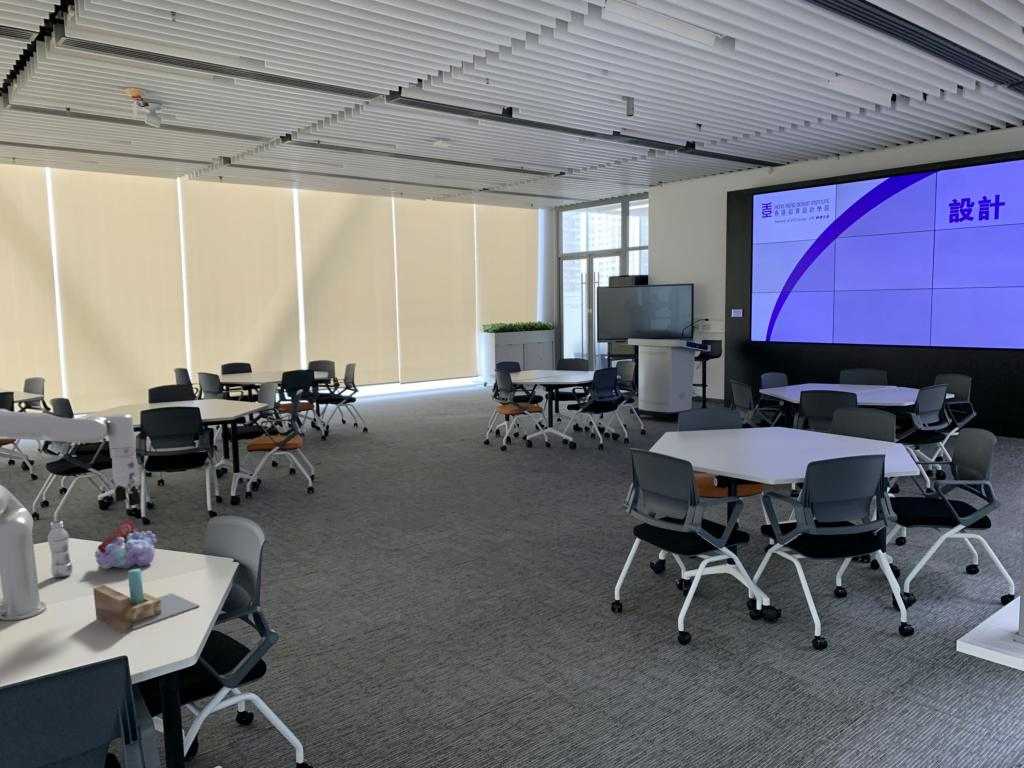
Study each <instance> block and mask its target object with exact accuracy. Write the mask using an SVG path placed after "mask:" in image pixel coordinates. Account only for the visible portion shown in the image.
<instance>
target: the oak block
mask: <svg viewBox="0 0 1024 768" xmlns="http://www.w3.org/2000/svg"><path fill="white" fill-rule="evenodd" d="M143 595H144V603H141V604H138V605H135V606H131V612H132V622H135V621H138V620H141V619H144V618H147V617H150V616H153V615H156V614H159V613H161V612H162V610H161V600H160V599H157V598H158V597H155V596H153V595H151V594H148V593H146V592H143ZM130 601H131V598H130Z"/></svg>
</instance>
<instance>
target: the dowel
mask: <svg viewBox="0 0 1024 768" xmlns="http://www.w3.org/2000/svg"><path fill="white" fill-rule="evenodd" d="M127 575H128V576H127V579H128V585H129V586H128V587H129V597H130V598H131V606H135V605H138V604H141V603H144V595H143V594H144V586H143V577H142V570H141V568H134V569H130V570H128V571H127Z"/></svg>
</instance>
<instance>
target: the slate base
mask: <svg viewBox="0 0 1024 768" xmlns="http://www.w3.org/2000/svg"><path fill="white" fill-rule="evenodd" d="M156 598H157V599H160V600H161V610H162V612H161V613H159V614H156V615H153V616H150V617H147V618H144V619H141V620H138V621H135V622H133V629H131V630H128V631H125V632H121V631H119V630H118V629H116V628H114V627H112V626H110V625H108V624H107V623H105V622H103V621H101V620H99V619H98V618H96V617H95V618H96V620H97V621H99V622H101V624H102V623H103V624H104V625H106V626H108V627H109V628H111V629H113V630H115V631H117V632H118V631H119V632H118V633H120V632H121V633H120V634H122V635H124V634H126V633H129V632H133V631H135V630H139V629H141V628H144V627H147V626H151V625H152V624H155V623H157V622H161V621H164V620H167V619H169V618H172V617H175V616H178V615H180V614H183V613H186V612H190V611H191V610H194V609H197V608H200V604H197V603H195V602H193V601H191V600H189V599H186V598H183V597H182V596H179V595H177V594H174V593H168V594H165V595H163V596H159V597H156ZM132 630H133V631H132Z"/></svg>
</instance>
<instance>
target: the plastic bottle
mask: <svg viewBox="0 0 1024 768" xmlns="http://www.w3.org/2000/svg"><path fill="white" fill-rule="evenodd" d="M50 529H51V530H50V531H49V533H48V535H47V541H48V545H49V549H50V553H51V568H50V572H51V575H52V576H53V577H54V578H64V577H68V576H70V575H71V574H72V573H73V568H74V567H73V563H72V562H71V557H70V551H69V539H70V538H69V533H68V532H67V530H66V529H65V528H64V521H63V520H54V521H52V522H50Z"/></svg>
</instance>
